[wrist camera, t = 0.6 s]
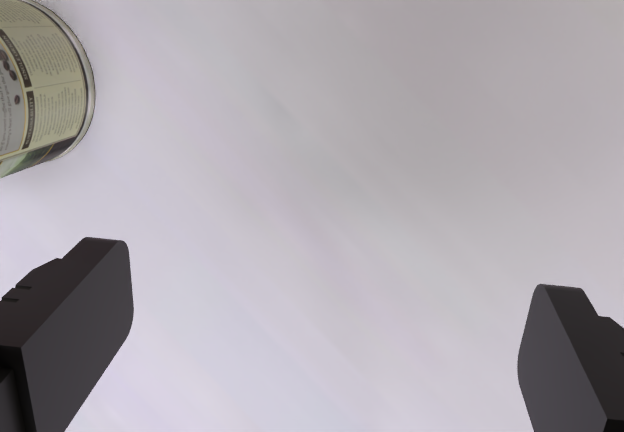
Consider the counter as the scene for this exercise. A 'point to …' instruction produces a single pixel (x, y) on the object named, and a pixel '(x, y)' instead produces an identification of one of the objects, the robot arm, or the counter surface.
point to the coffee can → (40, 87)
